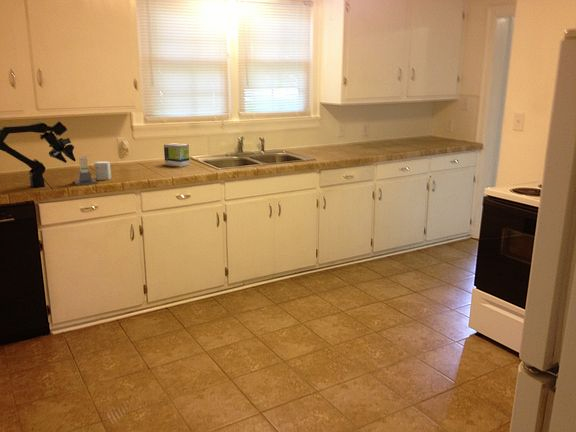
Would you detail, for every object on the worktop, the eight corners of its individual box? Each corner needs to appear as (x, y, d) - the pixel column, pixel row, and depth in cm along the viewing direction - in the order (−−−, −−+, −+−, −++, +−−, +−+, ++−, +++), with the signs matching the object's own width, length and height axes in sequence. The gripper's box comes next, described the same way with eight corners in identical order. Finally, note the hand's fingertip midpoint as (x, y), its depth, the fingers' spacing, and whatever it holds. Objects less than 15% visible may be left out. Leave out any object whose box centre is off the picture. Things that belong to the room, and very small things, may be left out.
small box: (111, 177, 335) (110, 161, 332) (108, 179, 330) (107, 163, 327) (98, 177, 335) (97, 161, 332) (95, 179, 329) (94, 163, 326)
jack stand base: (75, 185, 314) (74, 175, 312) (73, 181, 324) (72, 171, 323) (97, 183, 319) (96, 173, 317) (94, 179, 330) (93, 169, 328)
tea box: (190, 165, 378) (189, 144, 374) (180, 167, 370) (179, 146, 366) (174, 162, 386) (173, 142, 382) (164, 165, 378) (163, 144, 374)
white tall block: (81, 174, 318) (79, 158, 315) (80, 173, 321) (78, 156, 318) (88, 174, 319) (87, 157, 317) (87, 172, 323) (86, 156, 320)
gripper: (71, 130, 309) (88, 151, 318) (53, 134, 320) (70, 154, 329) (58, 142, 303) (76, 163, 311) (40, 146, 314) (58, 166, 322)
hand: (70, 161), depth 319 cm, fingers open, 9 cm apart
